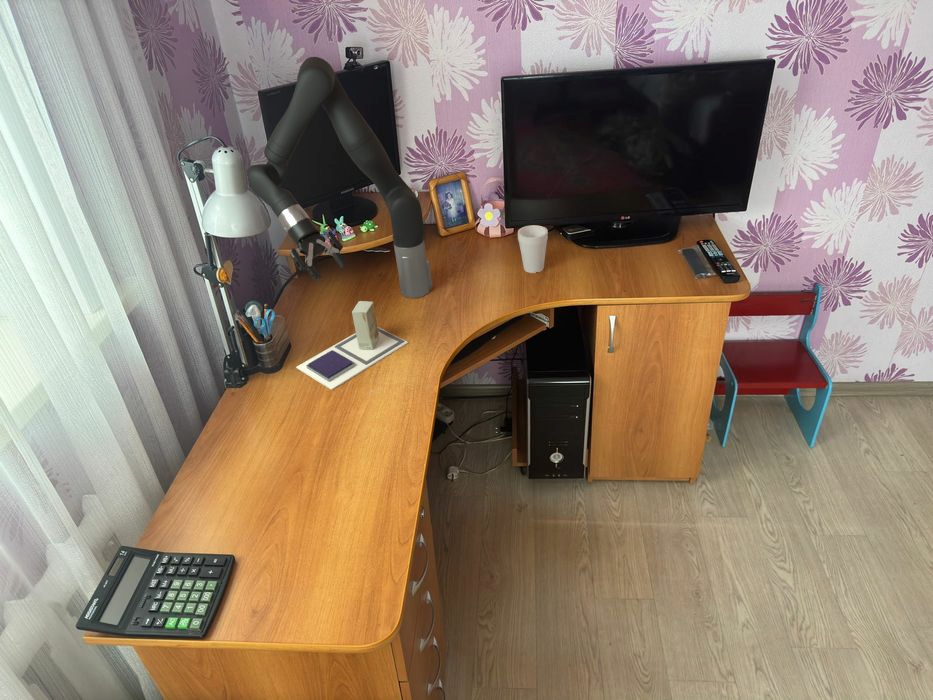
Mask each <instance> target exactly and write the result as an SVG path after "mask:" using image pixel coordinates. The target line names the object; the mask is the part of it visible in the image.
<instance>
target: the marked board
mask: <svg viewBox="0 0 933 700" xmlns="http://www.w3.org/2000/svg"><path fill="white" fill-rule="evenodd" d="M377 327H378V326H377ZM378 333H379V340H378V342H377V344H376V346H375V347H374V349H373V350H368V349H359V346H358V341H357V336H356V332H355V333H353V334H351V335H349V336H348V337H346V338H344V339H343V340H340V341H339V342H337V343H335V344H334V345H332V346H330V347H329V348H327V349H324V350H323V351H321V352H320V353H318V354H316V355H315V356H313V357H311V358H309V359H307V360H306V361H304V362H303V363H301V364H298V365H297V366H296V369H297V370H299V371H300V372H302V373H303V374H305V375H307V376H308V377H310V378H312V379H313V380H315V381H316V382H318V383H320V384H321V385H322V386H324V387H326V388H327V389H329V390H331V391H333V390H334V389H336V388H338V387H339V386H341V385H343V384H344V383H347V382H348V381H349V380H351V379H352V378H355V377H356V376H357V375H359V374H360V373H362V372H364V371H365V370H367V369H369V368H371V367H372V366H374V365H376V364H377V363H378V362H380V361H382V360H384V359H385V358H387V357H389V356H390V355H392V354H393V353H394V352H396V351H398V350H400V349H402V348H403V347H405V346H406V345H408V344H409V341H407V340H405V339H403V338H400V337H399V336H397V335H395V334H392V333H390V332H389V331H387V330H385V329H383V328H381V327H378ZM331 350H333V351H335V352H337V353H339V354H340V355H342V356H344V357H346V358H347V359H349V360H351V361H353V362H354V363H355V365H356V366H355V367H353V368H351V369H350V370H348V371H347V372H345V373H343V374H342V375H340V376H338V377H337V378H335V379H333V380H332V381H330V382H328V381H327V380H325V379H323V378H322V377H320V376H319V375H317V374H315V373H314V372H312V371H311V370H309V369H307V366H306V365H308V364H309V363H310V362H312V361H314V360H316V359H317V358H319V357H321V356H323V355H324V354H326V353H328V352H330V351H331ZM370 366H371V367H370Z"/></svg>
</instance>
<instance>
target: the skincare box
mask: <svg viewBox="0 0 933 700" xmlns="http://www.w3.org/2000/svg"><path fill="white" fill-rule="evenodd" d="M351 313H352V314H351V315H352V320H353V326H354V330H355V333H356V336H357V341H358V346H359V349H368V350H373V349H374V347H375V346H376V344H377V342H378V340H379V333H378V323H377V317H376V310H375V304H374V301H367V300H365V301H364V300H363V301H362V300H360V301H359V300H358V302H357V304H356V305H355V307H354V308H353V310H352V311H351Z"/></svg>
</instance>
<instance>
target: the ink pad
mask: <svg viewBox="0 0 933 700" xmlns="http://www.w3.org/2000/svg"><path fill="white" fill-rule="evenodd" d="M306 366H307V369H309V370H311V371H312V372H314V373H315V374H317V375H319V376H320V377H322V378H323V379H325V380H327V381H328V382H330V381H332V380H333V379H335V378H337V377H338V376H340V375H342V374H343V373H345V372H347V371H348V370H350V369H351V368H353V367H355V366H356V365H355V363H354V362H353V361H351V360H349V359H347V358H346V357H344V356H342V355H340V354H339V353H337V352H335V351H333V350H331V351H330V352H328V353H326V354H324V355H323V356H321V357H319V358H317V359H316V360H314V361H312V362H310V363H309V364H308V365H306Z"/></svg>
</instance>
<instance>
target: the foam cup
mask: <svg viewBox="0 0 933 700" xmlns="http://www.w3.org/2000/svg"><path fill="white" fill-rule="evenodd" d="M548 231H549V230H548V229H547V227H545V226H541V225H538V224H537V225H535V224H533V225H525V226H523V227H521V228H519V229H518V230H517V241H518V244H519V249H520V253H521V259H522V265H523V270H524V271H525V272H527V273H529V274H535V273H536V272H538V273H540V272H542V271H544V267H545V260H546V259H545V258H546V251H547V242H548V236H549V235H548V234H549V233H548ZM536 274H537V273H536Z"/></svg>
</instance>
